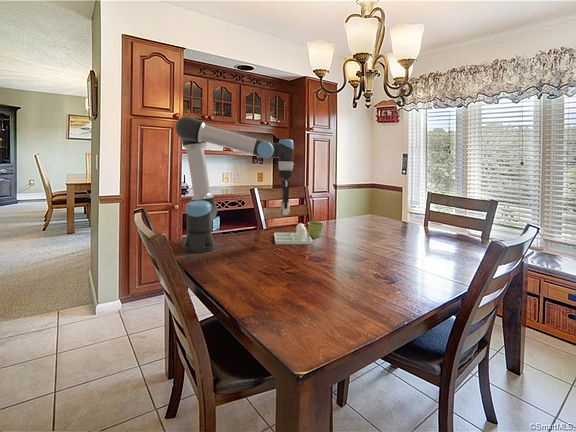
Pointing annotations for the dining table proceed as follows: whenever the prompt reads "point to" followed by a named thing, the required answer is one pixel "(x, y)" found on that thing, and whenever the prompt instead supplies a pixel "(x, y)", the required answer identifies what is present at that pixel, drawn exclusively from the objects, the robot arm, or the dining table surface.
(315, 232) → the plant pot
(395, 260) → the dining table surface
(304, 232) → the white egg far right
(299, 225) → the white egg far left
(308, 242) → the caddy
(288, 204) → the wooden egg
